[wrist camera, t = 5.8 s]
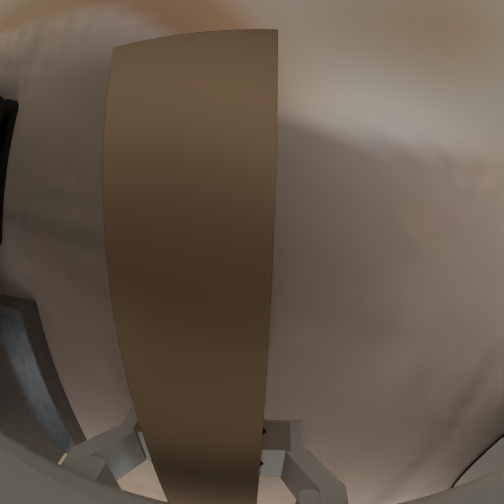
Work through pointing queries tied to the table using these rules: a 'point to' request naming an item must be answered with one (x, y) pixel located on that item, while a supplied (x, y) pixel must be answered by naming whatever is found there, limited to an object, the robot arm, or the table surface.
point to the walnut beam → (194, 250)
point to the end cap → (5, 143)
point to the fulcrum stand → (32, 385)
